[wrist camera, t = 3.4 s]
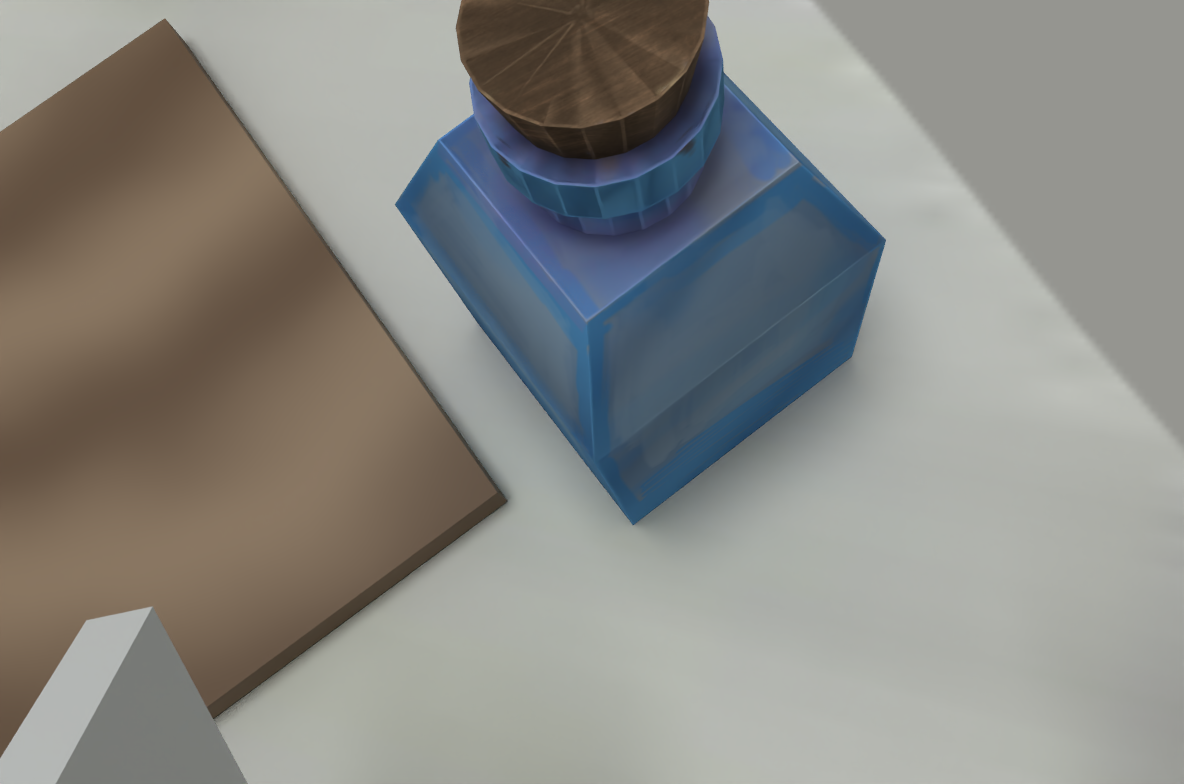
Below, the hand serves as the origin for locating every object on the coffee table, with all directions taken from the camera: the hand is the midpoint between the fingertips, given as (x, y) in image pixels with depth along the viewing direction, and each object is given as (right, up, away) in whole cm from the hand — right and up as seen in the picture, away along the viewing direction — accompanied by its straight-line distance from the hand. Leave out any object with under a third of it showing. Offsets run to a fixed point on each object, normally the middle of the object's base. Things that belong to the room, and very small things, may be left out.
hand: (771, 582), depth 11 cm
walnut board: (-14, +2, +15) cm, 20 cm away
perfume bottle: (0, +3, +13) cm, 14 cm away
